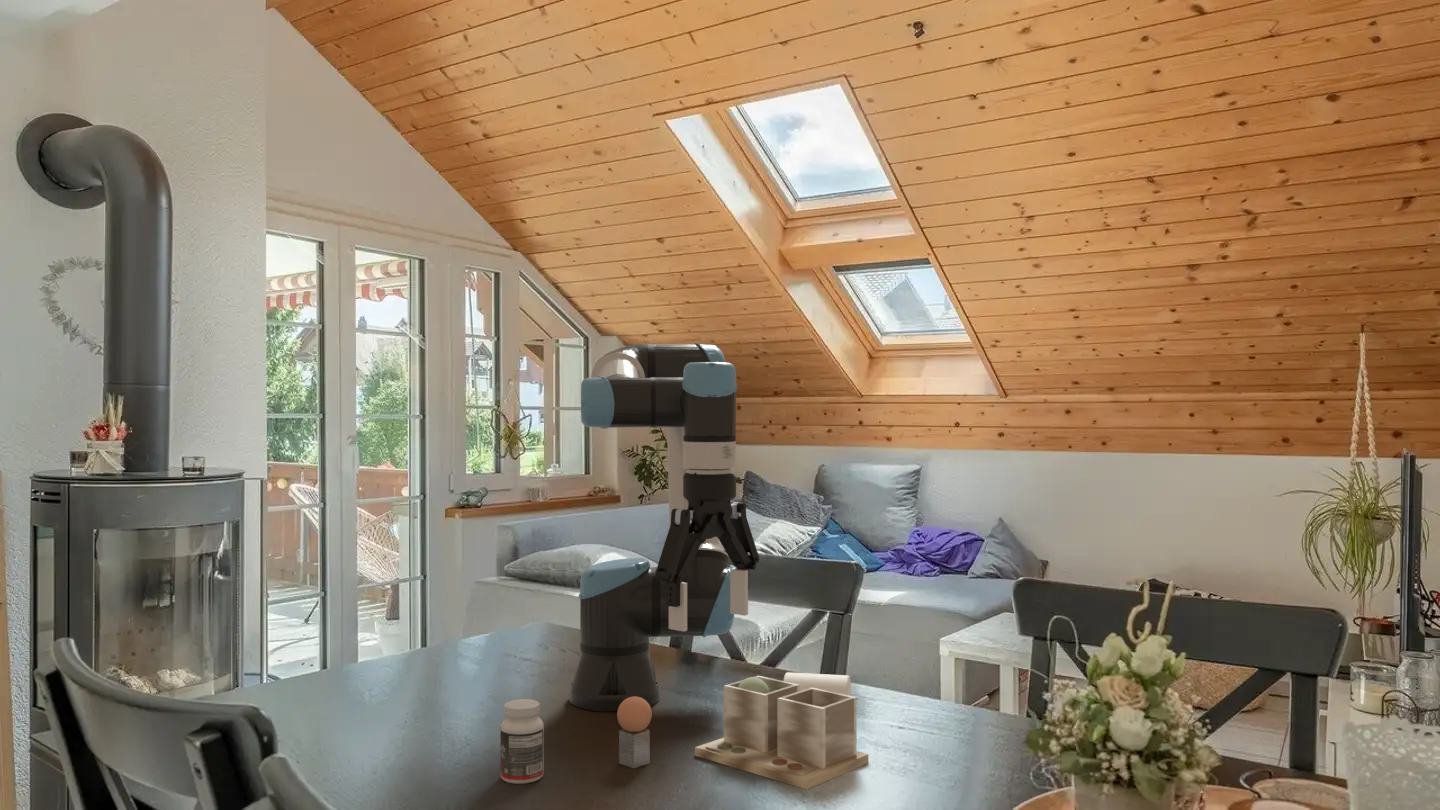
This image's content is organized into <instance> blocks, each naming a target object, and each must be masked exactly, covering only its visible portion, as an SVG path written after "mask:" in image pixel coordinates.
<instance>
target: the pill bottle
mask: <svg viewBox="0 0 1440 810" xmlns="http://www.w3.org/2000/svg"><path fill="white" fill-rule="evenodd" d="M503 709H504V710H503V715H505V719H504V720H503V721H502V723H501V725H500V736H499V737H500V778H501V779H502V780H503V781H504V782H506V783H509V784H513V785H516V784H517V785H523V784H530V783H534V782H536V781H539V780H540V779H542V778H543V776H544V772H545V771H544V770H545V766H544V764H545V763H544V761H545V760H544V759H545V756H544V755H545V751H544V745H545V744H544V743H545V742H544V741H545V740H544V737H545V736H544V735H545V732H544V730H545V728H544V722H543V720H542V719H541V718H540V717H539V713H540V712H541V711H540V702H539V701H537V700H535V699H528V698H524V699H520V698H519V699H514V700H510V701H507V702H505V703H504V706H503Z"/></svg>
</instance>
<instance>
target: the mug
mask: <svg viewBox="0 0 1440 810" xmlns="http://www.w3.org/2000/svg"><path fill="white" fill-rule="evenodd" d="M782 681H785V682H790V683H794V684H799V685H800V691H802V690H805V689H808V688H811V687H812V688H817V689H821V690H826V691H830V692H835V693H840V694H844V695H849V696H852V686H851V685H852V684H851V683H852V682H851V677H850V675H848V674H845V675H844V674H828V673H827V674H825V673H808V672H807V673H805V672H785V674H784V676H783V680H782Z"/></svg>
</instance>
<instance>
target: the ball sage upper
mask: <svg viewBox="0 0 1440 810" xmlns="http://www.w3.org/2000/svg"><path fill="white" fill-rule="evenodd" d="M742 680H743V681H742ZM742 680H741V681H742V682H741V683H740V684H739V686H738V688H742V689H746V690H750V691H755V692H759V693H763V694H766V693H769V688H768V686H767V685H766V683H765V682H764V681H763V680H761V679H759V678H756V677H755V676H751V677H747V678H745V679H742Z"/></svg>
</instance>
